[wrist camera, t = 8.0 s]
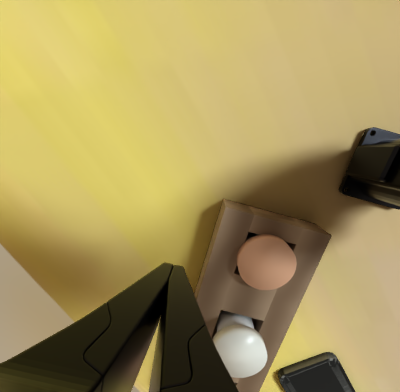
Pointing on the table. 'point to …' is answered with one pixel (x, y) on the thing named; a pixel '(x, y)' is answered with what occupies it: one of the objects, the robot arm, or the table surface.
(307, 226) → the knob mount
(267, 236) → the knob
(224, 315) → the middle knob
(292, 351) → the table surface
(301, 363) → the phone
